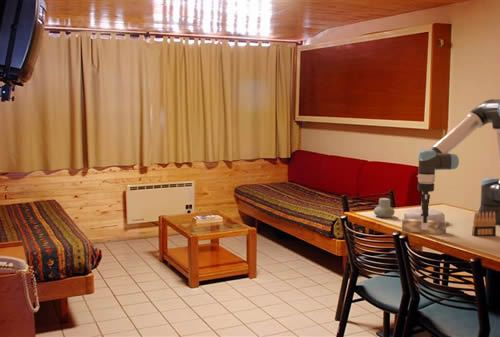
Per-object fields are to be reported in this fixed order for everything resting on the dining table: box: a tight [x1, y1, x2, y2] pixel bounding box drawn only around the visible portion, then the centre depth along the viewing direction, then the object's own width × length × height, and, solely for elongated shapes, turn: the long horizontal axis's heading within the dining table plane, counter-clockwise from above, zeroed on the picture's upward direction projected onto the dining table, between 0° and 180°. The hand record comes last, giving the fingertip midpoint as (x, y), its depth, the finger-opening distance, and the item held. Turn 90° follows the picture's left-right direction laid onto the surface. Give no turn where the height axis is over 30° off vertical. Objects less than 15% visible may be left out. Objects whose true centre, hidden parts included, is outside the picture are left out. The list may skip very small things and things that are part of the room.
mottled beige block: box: [401, 218, 447, 235], centre depth 263 cm, size 20×4×6 cm, turn 74°
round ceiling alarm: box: [402, 208, 448, 225], centre depth 286 cm, size 25×25×6 cm
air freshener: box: [373, 197, 395, 219], centre depth 297 cm, size 11×8×10 cm
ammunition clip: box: [471, 211, 497, 237], centre depth 255 cm, size 11×2×12 cm, turn 94°
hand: (424, 226), depth 262 cm, fingers open, 13 cm apart
